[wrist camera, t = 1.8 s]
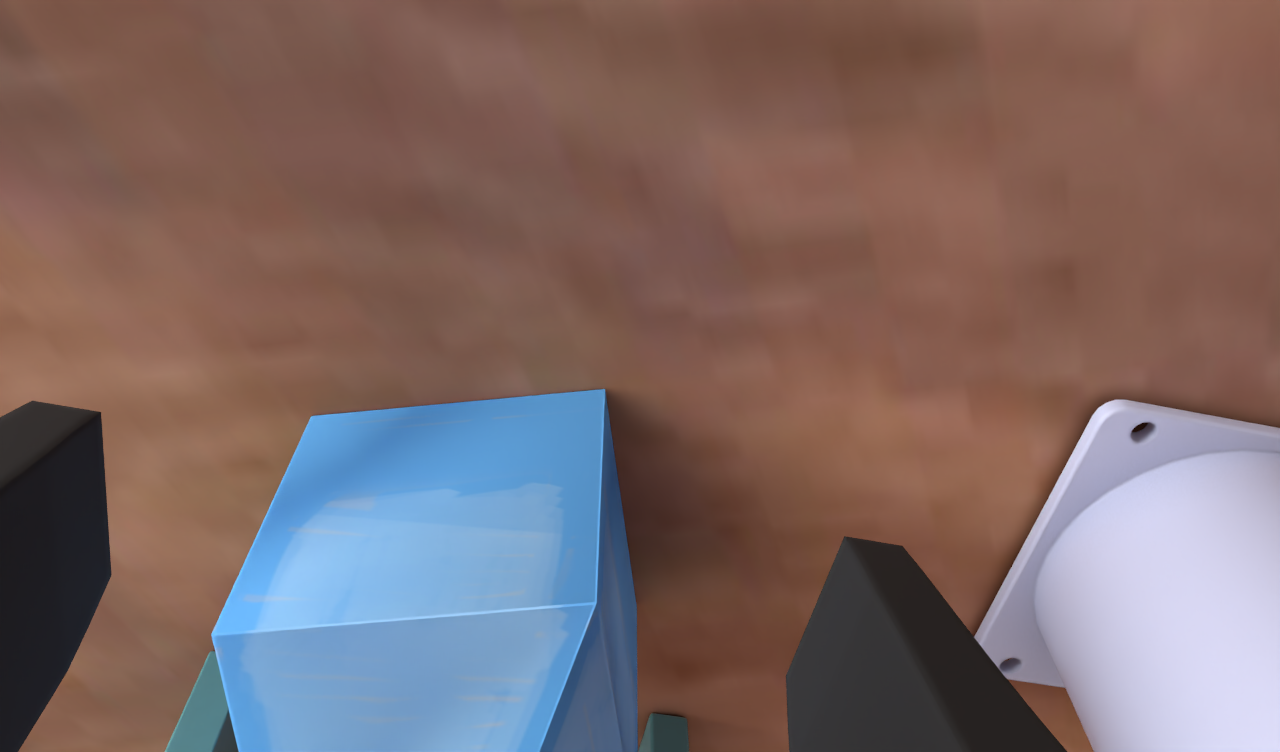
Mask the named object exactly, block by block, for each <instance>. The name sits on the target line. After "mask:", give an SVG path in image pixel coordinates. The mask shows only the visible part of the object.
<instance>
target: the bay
mask: <svg viewBox="0 0 1280 752" xmlns="http://www.w3.org/2000/svg"><path fill="white" fill-rule="evenodd" d="M165 752H239V751H238V747H237V743H236V738H235V734H234V730H233V726H232V721H231V717H230V713H229V708H228V704H227V700H226V695H225V691H224V687H223V682H222V678H221V674H220V669H219V665H218V661H217V657H216V652H214V651H211V652H210V653H209V655H208V657H207V659H206V661H205V663H204V666H203V668H202V670H201V672H200V675H199V677H198V679H197V681H196V683H195V686H194V688H193V690H192V692H191V695H190V697H189V699H188V701H187V704H186V706H185V708H184V710H183V712H182V715H181V717H180V719H179V721H178V724H177V726H176V728H175V730H174V732H173V735H172V737H171V739H170V741H169V744H168V746H167V748H166V750H165ZM638 752H689V742H688V724H687V719H686V718H684V717H677V716H670V715H663V714H655V713H652V714H651V715H650V716H649V719H648V722H647V726H646V729H645V732H644V735H643V738H642V741H641V744H640V747H639V750H638Z"/></svg>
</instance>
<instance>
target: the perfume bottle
mask: <svg viewBox="0 0 1280 752" xmlns="http://www.w3.org/2000/svg"><path fill="white" fill-rule="evenodd" d="M211 635H212V639H213V644H214V648H215V652H216V657H217V661H218V665H219V669H220V674H221V678H222V682H223V687H224V691H225V695H226V700H227V704H228V708H229V713H230V717H231V721H232V726H233V730H234V734H235V738H236V743H237V747H238V751H239V752H638V724H637V605H636V598H635V591H634V584H633V578H632V571H631V564H630V557H629V550H628V543H627V536H626V530H625V523H624V516H623V509H622V502H621V495H620V488H619V482H618V475H617V468H616V461H615V454H614V447H613V440H612V433H611V427H610V420H609V413H608V406H607V399H606V392H605V389H600V390H589V391H578V392H567V393H556V394H545V395H535V396H524V397H513V398H502V399H491V400H480V401H469V402H459V403H448V404H437V405H426V406H415V407H404V408H394V409H383V410H372V411H361V412H350V413H339V414H328V415H318V416H311V418H310V420H309V423H308V425H307V427H306V429H305V431H304V433H303V436H302V438H301V440H300V442H299V444H298V447H297V449H296V451H295V453H294V455H293V457H292V460H291V462H290V464H289V466H288V468H287V471H286V473H285V475H284V477H283V479H282V481H281V484H280V486H279V488H278V490H277V492H276V495H275V497H274V499H273V501H272V503H271V505H270V508H269V510H268V512H267V514H266V516H265V519H264V521H263V523H262V525H261V527H260V530H259V532H258V534H257V536H256V538H255V540H254V543H253V545H252V547H251V549H250V551H249V554H248V556H247V558H246V560H245V562H244V564H243V567H242V569H241V571H240V573H239V575H238V578H237V580H236V582H235V584H234V586H233V588H232V591H231V593H230V595H229V597H228V599H227V602H226V604H225V606H224V608H223V610H222V612H221V615H220V617H219V619H218V621H217V623H216V626H215V628H214V630H213V632H212V634H211Z"/></svg>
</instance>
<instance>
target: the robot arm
mask: <svg viewBox="0 0 1280 752" xmlns="http://www.w3.org/2000/svg"><path fill="white" fill-rule="evenodd" d="M1146 422H1148V424H1147V425H1146V427H1145V428H1144V429H1142V430H1140V431H1138V432H1132V430H1133V429H1134V428H1135V427H1136V426H1137V425H1139V424H1141V423H1146ZM110 577H111V562H110V547H109V531H108V515H107V500H106V484H105V469H104V453H103V438H102V422H101V412H96V411H90V410H84V409H78V408H72V407H66V406H60V405H54V404H48V403H42V402H36V401H31V402H29V403H27V404H25V405H23V406H21V407H19V408H17V409H15V410H13V411H11V412H10V413H8V414H6V415H4V416H2V417H0V752H18V751H19V749H20V747H21V746H22V744H23V743H24V741H25V739H26V738H27V736H28V734H29V733H30V731H31V730H32V728H33V726H34V725H35V723H36V722H37V720H38V718H39V717H40V715H41V713H42V712H43V710H44V709H45V707H46V705H47V704H48V702H49V701H50V699H51V697H52V696H53V694H54V692H55V691H56V689H57V687H58V686H59V684H60V682H61V681H62V679H63V677H64V676H65V674H66V672H67V671H68V669H69V667H70V665H71V662H72V660H73V658H74V656H75V654H76V652H77V650H78V648H79V646H80V643H81V641H82V639H83V637H84V635H85V633H86V631H87V629H88V627H89V624H90V622H91V620H92V618H93V615H94V613H95V611H96V608H97V606H98V604H99V602H100V599H101V597H102V595H103V593H104V590H105V588H106V586H107V584H108V581H109V579H110ZM1009 658H1013V659H1010V660H1008V661H1004V660H1007V659H1009ZM1007 679H1009V680H1016V681H1023V682H1030V683H1036V684H1043V685H1050V686H1056V687H1063V688H1066V690H1067V693H1068V695H1069V697H1070V699H1071V701H1072V704H1073V706H1074V708H1075V710H1076V713H1077V715H1078V717H1079V719H1080V722H1081V724H1082V726H1083V728H1084V731H1085V733H1086V735H1087V737H1088V739H1089V742H1090V744H1091V746H1092V748H1093V751H1094V752H1280V428H1277V427H1271V426H1266V425H1260V424H1255V423H1250V422H1244V421H1239V420H1233V419H1228V418H1223V417H1217V416H1212V415H1206V414H1201V413H1195V412H1190V411H1185V410H1179V409H1174V408H1168V407H1163V406H1158V405H1152V404H1147V403H1141V402H1136V401H1130V400H1113V401H1110V402H1106V403H1105V404H1103V405H1102V406H1100V407H1099V408H1098V409H1097V410H1096V411H1095V413H1094V414H1093V415H1092V417H1091V419H1090V421H1089V423H1088V425H1087V426H1086V428H1085V430H1084V432H1083V434H1082V436H1081V438H1080V440H1079V441H1078V443H1077V445H1076V447H1075V449H1074V451H1073V453H1072V455H1071V456H1070V458H1069V460H1068V462H1067V464H1066V466H1065V468H1064V470H1063V471H1062V473H1061V475H1060V477H1059V479H1058V481H1057V483H1056V485H1055V486H1054V488H1053V490H1052V492H1051V494H1050V496H1049V498H1048V500H1047V501H1046V503H1045V505H1044V507H1043V509H1042V511H1041V513H1040V515H1039V516H1038V518H1037V520H1036V522H1035V524H1034V526H1033V528H1032V529H1031V531H1030V533H1029V535H1028V537H1027V539H1026V541H1025V543H1024V544H1023V546H1022V548H1021V550H1020V552H1019V554H1018V556H1017V558H1016V559H1015V561H1014V563H1013V565H1012V567H1011V569H1010V571H1009V573H1008V574H1007V576H1006V578H1005V580H1004V582H1003V584H1002V586H1001V588H1000V589H999V591H998V593H997V595H996V597H995V599H994V601H993V603H992V604H991V606H990V608H989V610H988V612H987V614H986V616H985V618H984V619H983V621H982V623H981V625H980V627H979V629H978V631H977V633H976V634H975V636H974V637H973V635H972V634H971V633H970V631H969V630H968V629H967V628H966V626H965V625H964V624H963V622H962V621H961V620H960V619H959V617H958V616H957V615H956V613H955V612H954V611H953V609H952V608H951V607H950V606H949V604H948V603H947V602H946V600H945V599H944V598H943V596H942V595H941V594H940V593H939V591H938V590H937V589H936V587H935V586H934V585H933V584H932V582H931V581H930V580H929V578H928V577H927V576H926V575H925V573H924V572H923V571H922V570H921V568H920V567H919V566H918V565H917V563H916V562H915V561H914V560H913V558H912V557H911V556H910V555H909V554H908V552H907V551H906V550H905V549H904V548H903V546H899V545H893V544H887V543H881V542H875V541H869V540H863V539H857V538H851V537H845V536H844V539H843V541H842V544H841V546H840V548H839V551H838V553H837V555H836V558H835V560H834V563H833V565H832V567H831V570H830V572H829V575H828V577H827V579H826V582H825V584H824V586H823V589H822V591H821V594H820V596H819V598H818V601H817V603H816V606H815V608H814V610H813V613H812V615H811V618H810V620H809V622H808V625H807V627H806V629H805V632H804V634H803V637H802V639H801V641H800V644H799V646H798V649H797V651H796V653H795V656H794V658H793V660H792V663H791V665H790V668H789V670H788V672H787V675H786V687H787V714H788V735H789V751H790V752H1067V751H1066V750H1065V749H1064V747H1063V746H1062V745H1061V744H1060V743H1059V742H1058V740H1057V739H1056V738H1055V737H1054V736H1053V734H1052V733H1051V732H1050V731H1049V730H1048V729H1047V727H1046V726H1045V725H1044V724H1043V723H1042V721H1041V720H1040V719H1039V718H1038V717H1037V715H1036V714H1035V713H1034V712H1033V711H1032V709H1031V708H1030V707H1029V706H1028V705H1027V703H1026V702H1025V701H1024V700H1023V698H1022V697H1021V696H1020V695H1019V693H1018V692H1017V691H1016V690H1015V688H1014V687H1013V686H1012V685H1011V683H1010V682H1009V681H1008V680H1007Z"/></svg>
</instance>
